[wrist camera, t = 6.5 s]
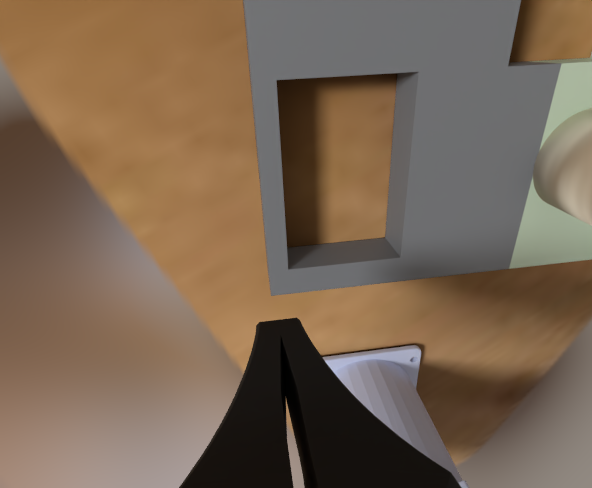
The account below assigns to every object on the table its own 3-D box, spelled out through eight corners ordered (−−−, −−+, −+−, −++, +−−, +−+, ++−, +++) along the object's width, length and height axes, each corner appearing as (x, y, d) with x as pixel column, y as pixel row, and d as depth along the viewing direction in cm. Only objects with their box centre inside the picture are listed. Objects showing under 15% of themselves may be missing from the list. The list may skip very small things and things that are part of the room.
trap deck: (580, 238, 24) (632, 267, 21) (268, 272, 22) (272, 309, 19) (702, -115, 16) (815, -155, 13) (232, -111, 14) (231, -155, 11)
